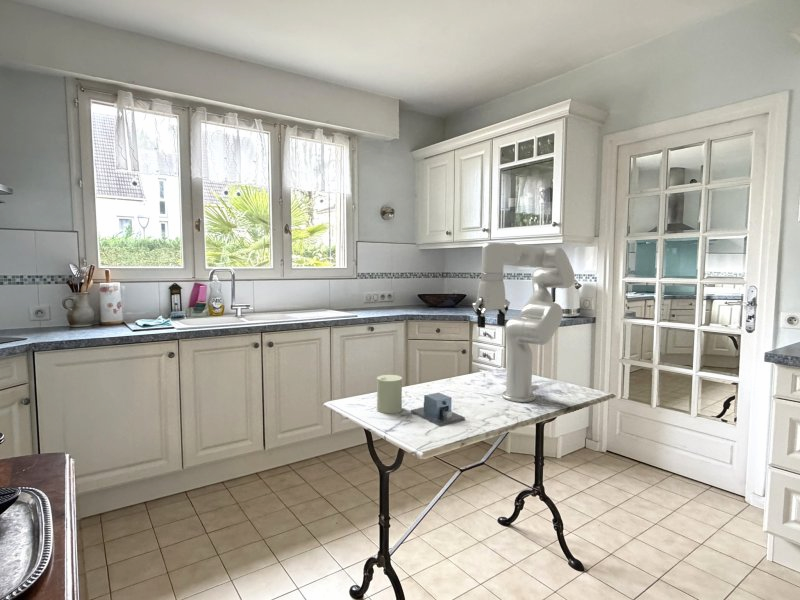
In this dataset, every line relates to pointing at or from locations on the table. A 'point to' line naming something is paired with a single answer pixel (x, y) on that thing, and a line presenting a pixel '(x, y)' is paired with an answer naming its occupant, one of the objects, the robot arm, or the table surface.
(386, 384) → the can
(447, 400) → the blue-grey slotted block
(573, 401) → the table surface
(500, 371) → the table surface
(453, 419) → the rail
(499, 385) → the table surface
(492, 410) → the table surface
